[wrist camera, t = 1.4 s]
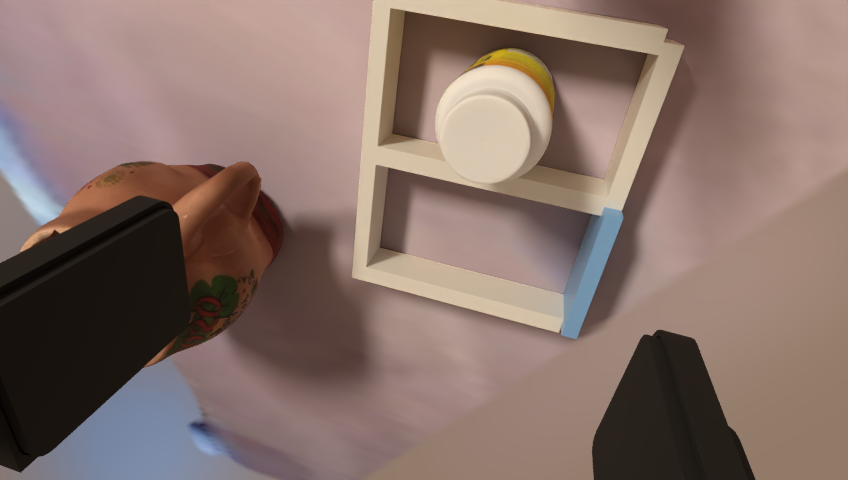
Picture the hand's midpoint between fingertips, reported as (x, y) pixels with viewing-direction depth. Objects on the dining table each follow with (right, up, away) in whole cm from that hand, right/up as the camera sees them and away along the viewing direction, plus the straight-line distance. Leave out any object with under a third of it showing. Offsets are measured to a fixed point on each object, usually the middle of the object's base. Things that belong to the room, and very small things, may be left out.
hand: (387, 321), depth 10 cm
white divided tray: (+5, +7, +22) cm, 24 cm away
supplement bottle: (+6, +11, +20) cm, 23 cm away
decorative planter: (-14, +4, +29) cm, 33 cm away
